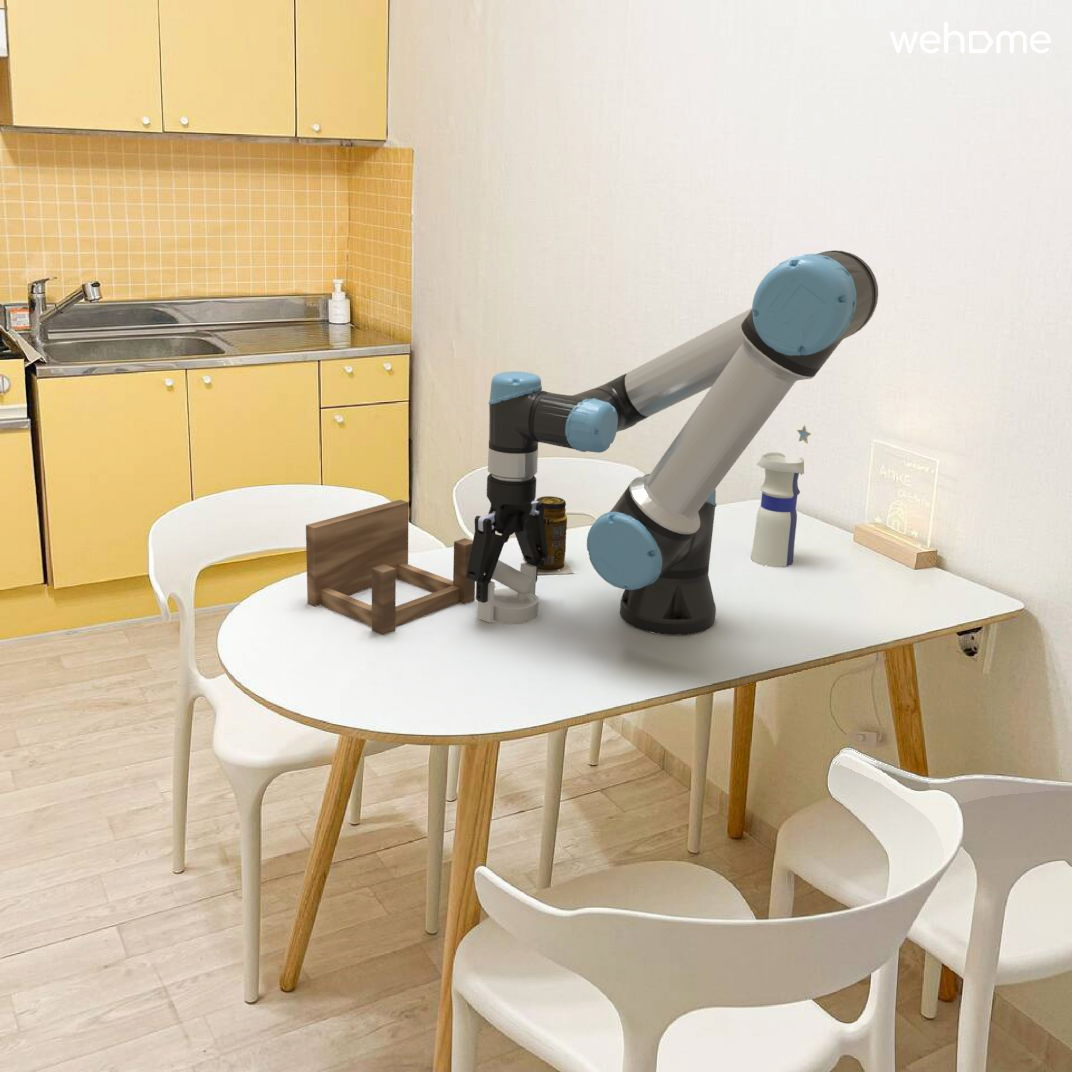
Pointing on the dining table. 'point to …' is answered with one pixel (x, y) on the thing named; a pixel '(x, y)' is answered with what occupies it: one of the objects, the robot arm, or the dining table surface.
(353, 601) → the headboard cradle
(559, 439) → the robot arm
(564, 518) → the condiment
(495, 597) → the wall hook
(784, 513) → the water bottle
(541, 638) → the dining table surface
